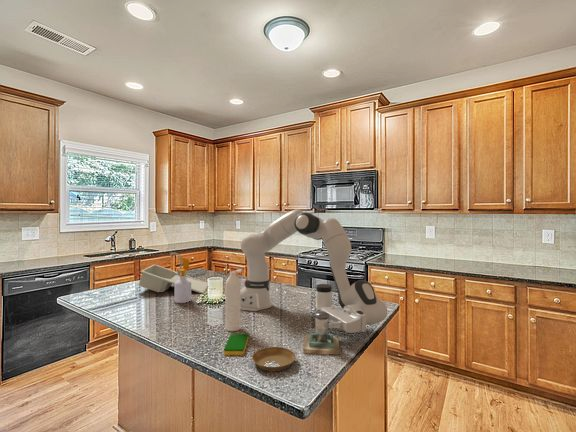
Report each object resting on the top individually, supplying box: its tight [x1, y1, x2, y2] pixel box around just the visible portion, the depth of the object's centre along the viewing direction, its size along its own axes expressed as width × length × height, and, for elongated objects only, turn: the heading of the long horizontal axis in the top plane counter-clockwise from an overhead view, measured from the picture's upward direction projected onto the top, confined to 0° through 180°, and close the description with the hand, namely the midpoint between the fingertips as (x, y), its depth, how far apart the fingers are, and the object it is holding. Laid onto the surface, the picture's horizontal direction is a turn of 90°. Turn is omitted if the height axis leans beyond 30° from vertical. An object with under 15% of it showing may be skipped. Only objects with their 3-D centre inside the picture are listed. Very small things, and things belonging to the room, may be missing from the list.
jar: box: [315, 283, 333, 311], centre depth 165 cm, size 9×8×12 cm
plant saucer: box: [251, 346, 297, 372], centre depth 106 cm, size 15×15×3 cm
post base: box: [302, 332, 341, 355], centre depth 119 cm, size 13×13×3 cm
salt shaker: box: [314, 310, 329, 343], centre depth 119 cm, size 5×5×11 cm
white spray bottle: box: [224, 268, 243, 332], centre depth 137 cm, size 9×6×25 cm
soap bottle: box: [173, 257, 192, 304], centre depth 176 cm, size 9×9×25 cm
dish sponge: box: [223, 333, 249, 356], centre depth 119 cm, size 7×14×2 cm, turn 0°
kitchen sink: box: [138, 252, 208, 294], centre depth 203 cm, size 24×40×25 cm, turn 94°
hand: (321, 321), depth 119 cm, fingers open, 8 cm apart
